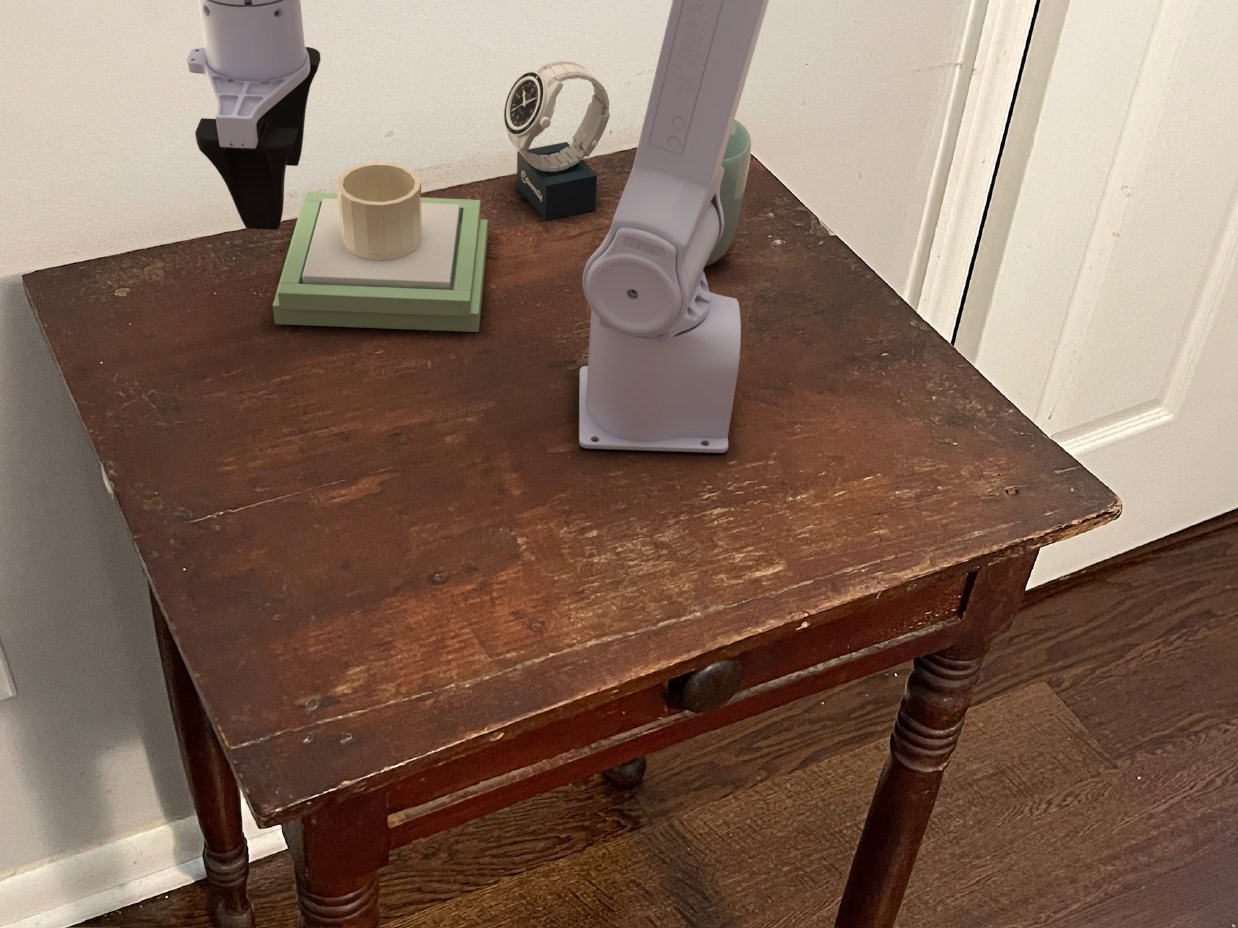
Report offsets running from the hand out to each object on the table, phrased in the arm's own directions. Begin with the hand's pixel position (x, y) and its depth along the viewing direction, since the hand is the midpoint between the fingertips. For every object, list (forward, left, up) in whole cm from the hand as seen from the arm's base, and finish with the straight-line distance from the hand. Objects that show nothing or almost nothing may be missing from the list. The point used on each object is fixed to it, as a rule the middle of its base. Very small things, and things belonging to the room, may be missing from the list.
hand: (273, 193), depth 86 cm
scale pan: (-6, -6, -9) cm, 12 cm away
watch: (-18, -18, -11) cm, 28 cm away
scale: (-6, -6, -10) cm, 13 cm away
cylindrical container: (-6, -6, -7) cm, 11 cm away
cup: (-28, -11, -11) cm, 32 cm away
